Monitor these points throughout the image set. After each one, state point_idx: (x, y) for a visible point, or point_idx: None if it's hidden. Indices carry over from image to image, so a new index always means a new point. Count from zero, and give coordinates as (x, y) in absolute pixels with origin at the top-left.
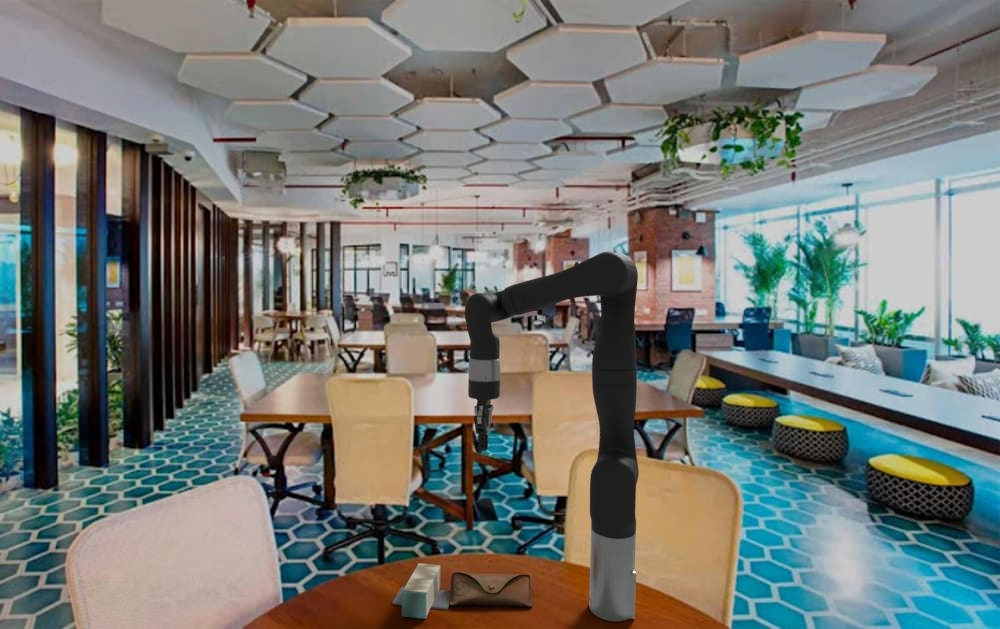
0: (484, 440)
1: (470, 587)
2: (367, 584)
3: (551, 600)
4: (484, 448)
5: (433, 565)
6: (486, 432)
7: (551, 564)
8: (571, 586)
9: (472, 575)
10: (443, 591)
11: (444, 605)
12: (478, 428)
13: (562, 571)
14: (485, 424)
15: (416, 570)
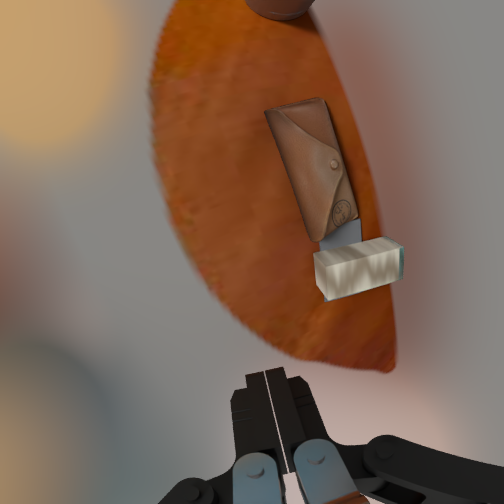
0: (319, 418)
1: (338, 199)
2: (325, 340)
3: (286, 72)
4: (302, 380)
5: (329, 276)
6: (394, 445)
7: (164, 99)
8: (230, 50)
9: (327, 204)
10: (323, 242)
11: (355, 225)
12: (380, 492)
13: (183, 74)
14: (475, 474)
15: (349, 292)
